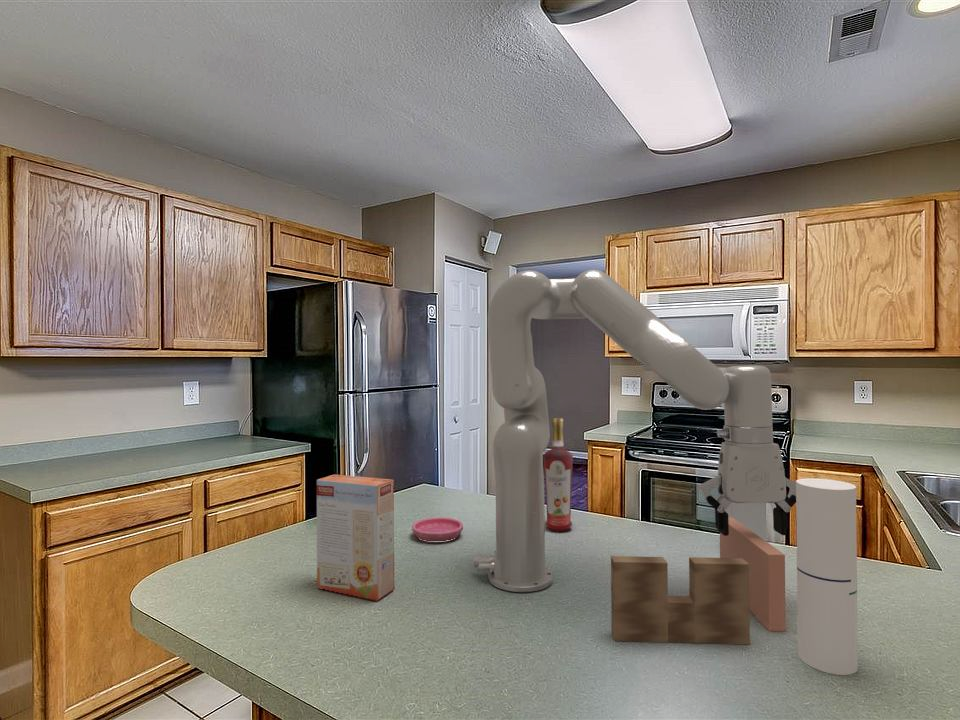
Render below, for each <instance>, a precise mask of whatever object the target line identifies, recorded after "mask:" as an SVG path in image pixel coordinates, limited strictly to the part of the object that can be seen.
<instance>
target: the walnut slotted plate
mask: <svg viewBox="0 0 960 720" xmlns="http://www.w3.org/2000/svg"><path fill="white" fill-rule="evenodd" d="M688 566H689V567H688V569H689V570H688V571H689V572H688V575H689V576H688V579H689V580H688V581H689V582H688V585H689V587H688V588H689V589H688V591H689V594H688V595H669V594H668V593H669V591H668V590H669V588H668V579H669V578H668V569H669V568H668V562H667V560H666V559H665V558H664V556H631V555H630V556H628V555H627V556H624V555H622V556H621V555H611V556H610V593H611V594H610V597H611V598H610V599H611V601H610V602H611V604H610V606H611V607H610V608H611V609H610V611H611V614H610V616H611V618H610V620H611V635H612V638H613V640H614V642H638V643H639V642H640V643H641V642H642V643H645V642H646V643H673V644H674V643H675V644H676V643H678V644H680V643H681V644H683V643H684V644H716V645H717V644H718V645H750V644H751V629H750V628H751V627H750V626H751V622H750V621H751V620H750V619H751V618H750V617H751V615H750V612H751V611H750V599H749V564H748V563H747V562H746V561H745V560H744V559H742V558H720V557H696V556H695V557H693V556H691V557H690V556H689V558H688Z"/></svg>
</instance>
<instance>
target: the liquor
mask: <svg viewBox="0 0 960 720" xmlns="http://www.w3.org/2000/svg"><path fill="white" fill-rule="evenodd" d="M563 428H564V418H562V417H560V418H557V417H556V418H552V429H553V430H552V431H553V432H552V446H551V447H552V448H551V449H549V450H547V451H546V452H544V453H543V472H544V487H545V499H546V501H545V503H546V520H545V527H547V528H548V530H550V531H552V530H553V531H552V532H556V531H557V533H558V532H559V533H560V532H562V531H563V532H566V531H568V530H569V529H570V528H571V527H572V526H573V523H572V521H571V520H572V519H571V514H572V513H571V511H572V510H571V509H572V483H573V457H574V455H573V453H571V452H570V451H568V450H566V449H565V444H564V435H563Z"/></svg>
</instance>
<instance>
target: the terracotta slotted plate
mask: <svg viewBox="0 0 960 720" xmlns="http://www.w3.org/2000/svg"><path fill="white" fill-rule="evenodd" d="M728 523H729V535H728V536H724V535H723V534H722V533H720V532H719V558H742V559H744V560H745V561H746V562H747V563H748V564H749V599H750V612H751V614H753V616H754V615H755V616H754V617H755V618H756V619H757V620H758V621H759V622H760V623H761V624H762V625H763V627H765V628H766V629H767V631H768V632H786V631H787V630H786V627H787V626H786V625H787V623H786V554H784V553H783V552H782V551H780V550H779V549H778V548H777V547H776V546H775V547H774V546H773V545H772V544H770V543H769V542H768V541H767V542H766V541H765V540H763V539H762V538H761V537H759V536H758V535H756V534H755V533H754V532H752V531H751V530H749V529H748V528H747V527H745V526H744V525H742V524H741V523H740V522H738V521H737V520H735V519H734V518H728Z"/></svg>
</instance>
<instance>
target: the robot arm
mask: <svg viewBox="0 0 960 720" xmlns="http://www.w3.org/2000/svg"><path fill="white" fill-rule="evenodd" d="M532 319H536V320H569V319H570V320H571V319H574V320H576V319H579V320H580V319H588V320H589V321H590V322H591V323H592V324H594V325H595V326H596V328H598V329H600V330H601V331H602V332H603V334H605V335H606V336H607V337H608V338H609V339H610V340H611V341H613V342H614V343H615V344H617V346H618V347H619V348H621V349H622V350H623V351H624V352H626V353H627V354H628V355H629V356H630V357H632V358H633V359H635V360H637V361H638V362H640V363H642V364H643V365H644V366H646V367H647V368H648V369H649V370H650V371H652V372H653V373H654V374H656V376H658V377H659V378H661V380H662V381H664V382H665V384H667V385H668V386H670V387H671V388H672V390H674V392H676V393H677V394H678V395H679V396H680V398H681V399H682V400H683V401H685V403H687V404H688V405H690V406H692V407H694V408H695V409H697V410H699V409H700V410H702V411H703V410H705V411H707V410H709V411H710V410H713V409H716V408H718V407H720V406H722V405H723V407H724V408H723V409H724V410H723V411H724V425H723V428H721V429H717V430H716V435H717V437H718V438H722V439H723V440H724V442H721V445H720V450H719V456H718V466H717V475H715V476H714V477H711V478H710V479H709V480H706V481H705V482H703V483H701V484H699V485H698V490H699V491H700V493H701V495H702V496H703V498H704V501H706V502H707V503H708V504H709V505H710V506H711V507H712V508H713V509H714V523H715V528H716V529H717V531H718V532H719V534H720V533H722V534H723V535H724V536H728V535H729V523H728V513H727V512H725V510H726V509H727V507H728V506H729V505H730V504H731V503H732V502H733V503H766V504H772V503H773V504H774V505H775V507H774V508H773V509H772V513H773V514H772V520H773V521H772V523H773V531H774V532H776V533H778V534H780V535H781V536H787V530H788V528H789V515H788V514H789V512H791V510H792V507H793V506H794V505H796V481H793V480H791V479H790V478H787V477H786V476H785V475H786V474H785V467H784V463H783V457H782V454H781V449H780V446H779V444H778V443H775V442H774V430H773V429H774V428H773V404H772V402H773V399H772V398H773V397H772V375H771V373H772V372H771V371H770V369H769V368H768V367H767V366H763V365H732V366H729V367H720V366H717V365H715V363H714V362H712V361H711V360H710V359H708V358H707V357H706V356H705V355H704V354H702V352H700V351H699V350H698V349H696V348H695V347H694V345H692V344H691V343H689V342H688V341H687V340H686V339H684V337H682V336H681V335H679V334H678V333H677V332H676V331H674V329H672V328H671V327H670V326H669V325H668V324H667V323H666V322H665V321H663V320H662V319H661V318H659V316H657V315H656V314H655V313H654V312H653V311H651V310H650V309H649V308H648V307H646V306H645V305H644V304H643V303H642V302H640V300H638V299H637V298H636V297H635V296H633V294H631V293H630V292H629V291H628V290H626V289H625V288H624V287H623V286H621V284H619V283H618V281H616V280H615V279H614V278H612V277H611V276H610V275H609V274H608V273H606V272H604V271H602V270H600V269H588V270H585V271H583V272H581V273H579V274H578V275H577V276H576V277H574V278H549V277H548V276H546V275H545V274H544V273H541V272H539V271H536V270H529V269H528V270H522V271H519V272H516V273H515V274H513V275H511V276H509V277H508V278H507V279H506V280H504V281H503V282H502V283H501V284H500V285H499V287H498V288H497V290H495V292H494V294H493V296H492V298H491V301H490V303H489V307H488V311H487V332H488V345H489V346H488V347H489V360H490V371H491V389H492V394H493V397H494V400H495V401H496V403H497V404H498V405H499V406H500V407H501V408H502V409H503V414H504V422H502V424H501V425H500V426H499V427H498V428H497V430H496V432H495V435H494V436H493V441H492V459H493V466H494V467H493V468H494V479H495V481H494V482H495V551H494V554H493V555H492V554H491V555H489V556H481V555H480V556H478V555H477V556H475V555H474V556H473V567H477V568H478V571H488V582H489V583H490V584H491V585H493V586H494V587H496V588H497V589H500V590H504V591H507V592H514V593H532V592H538V591H542V590H545V589H546V588H548V587H550V586H551V585H552V583H553V582H554V574H553V573H554V572H553V571H552V570H551V569H550V568H548V567H547V566H546V540H545V539H546V524H545V522H546V520H545V519H546V517H545V516H546V515H545V511H546V509H545V503H546V501H545V472H544V453H545V451H546V449H547V447H548V446H549V443H550V438H551V431H550V430H551V429H550V420H549V419H550V418H549V407H548V397H547V396H548V395H547V388H546V381H545V379H544V376H543V374H542V373H541V371H540V369H539V368H537V367H536V366H535V359H534V351H533V349H534V348H533V347H534V346H533V343H534V342H533V336H532V331H531V324H532V323H531V322H532ZM787 487H788V488H789V491H788V493H787ZM715 488H717V492H718V495H717V497H716V499H715V498H714V497H713V494H712V492H711V490H713V489H715Z"/></svg>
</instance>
